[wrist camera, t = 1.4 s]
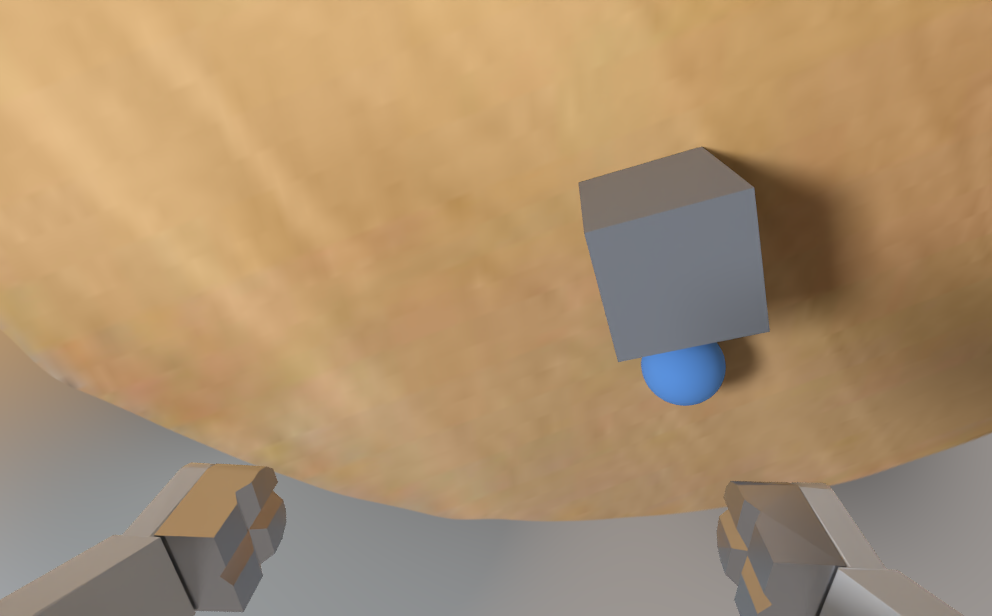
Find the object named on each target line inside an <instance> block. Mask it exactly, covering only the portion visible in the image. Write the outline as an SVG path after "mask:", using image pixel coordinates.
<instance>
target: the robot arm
mask: <svg viewBox="0 0 992 616" xmlns="http://www.w3.org/2000/svg"><path fill="white" fill-rule="evenodd" d="M277 483H278V481H277V479H276V476H275V473H274V470H273V469H272V468H269V467H265V466H248V465H231V464H204V463H190V464H188V465H185V466H183V467H182V468H181V469H180V470H179V471H178V472H177V473H176V474H175V475H174V477H173V478H172V479H171V480H170V481H169V482H168V483H167V485H166V486H165V487H164V488H163V489H162V490H161V491H160V493H159V494H158V495H157V496H156V497H155V498H154V499H153V500H152V502H151V503H150V504H149V505H148V506H147V507H146V509H145V510H144V511H143V512H142V513H141V514H140V515H139V516H138V518H137V519H136V520H135V521H134V522H133V523H132V524H131V526H130V527H129V528H128V529H127V530H126V531H125V532H124V534H123V535H113V536H111V537H109V538H107V539H106V540H104V541H102V542H100V543H99V544H97V545H95V546H94V547H92V548H90V549H88V550H86V551H85V552H83V553H82V554H79V555H78V556H76V557H74V558H72V559H71V560H69V561H67V562H65V563H64V564H62V565H60V566H58V567H57V568H55V569H53V570H52V571H50V572H48V573H46V574H45V575H43V576H41V577H39V578H37V579H36V580H34V581H32V582H30V583H29V584H27V585H25V586H24V587H22V588H20V589H18V590H17V591H15V592H13V593H11V594H10V595H8V596H6V597H4V598H3V599H1V600H0V616H194V615H195V611H224V612H226V611H227V612H244V610H245V608H246V606H247V604H248V603H249V601H250V599H251V597H252V595H253V593H254V591H255V590H256V588H257V586H258V584H259V582H260V580H261V578H262V576H263V574H262V569H261V563H263V562H264V561H265V560H267V559H268V558H269V557H271V556H272V555H273V554H275V552H276V550H277V548H278V546H279V544H280V542H281V540H282V537H283V533H284V529H285V525H286V508H285V505H284V501H283V499H281V498H280V497H279V496H278V495H277V494H276V493H275V492H273V489H274V488H275V486H276V484H277ZM724 500H725V502H726V505H727V507H728V510H727V511H725V512H724V513H723V514H722V515H720V516H719V521H718V527H717V545H718V546H717V547H718V552H719V556H720V560H721V563H722V566H723V569H724V572H725V574H726V575H727V576H728V577H729V578H730V579H731V580H732V581H733V582H734V583H735V584H737V586H738V588H737V592H736V596H735V603H736V606H737V608H738V611H739V614H740V616H964V615H962V614H961V613H959V612H958V611H956V610H955V609H953V608H952V607H951V606H949V605H947V604H946V603H945V602H943V601H942V600H940V599H939V598H937V597H936V596H934V595H933V594H932V593H930V592H929V591H927V590H926V589H924V588H923V587H921V586H920V585H919V584H917V583H916V582H914V581H913V580H911V579H910V578H908V577H907V576H905V575H904V574H903V573H901V572H900V571H898V570H889V569H886V567H885V566H884V564H883V563H882V561H881V560H880V559H879V557H878V556H877V554H876V553H875V551H874V550H873V548H872V547H871V545H870V544H869V542H868V541H867V540H866V538H865V537H864V535H863V534H862V532H861V531H860V529H859V528H858V527H857V525H856V524H855V522H854V521H853V519H852V518H851V516H850V515H849V513H848V512H847V510H846V509H845V508H844V506H843V505H842V503H841V502H840V500H839V499H838V497H837V496H836V494H835V493H834V492H833V490H832V489H831V488H830V487H829V486H828V485H826V484H825V483H801V482H792V483H789V482H752V481H730V482H729V484H728V485H727V486H726V490H725V494H724Z"/></svg>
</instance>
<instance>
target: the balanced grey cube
mask: <svg viewBox="0 0 992 616" xmlns="http://www.w3.org/2000/svg"><path fill="white" fill-rule="evenodd" d="M579 191H580V200H581V209H582V218H583V226H584V234H585V238H586V241H587V245H588V249H589V253H590V257H591V260H592V264H593V268H594V272H595V276H596V279H597V283H598V287H599V291H600V295H601V298H602V302H603V306H604V310H605V314H606V317H607V321H608V325H609V329H610V333H611V336H612V340H613V344H614V348H615V352H616V355H617V359H618V362H621V361H626V360H631V359H636V358H641V357H646V356H651V355H656V354H661V353H665V352H670V351H675V350H680V349H685V348H690V347H695V346H700V345H705V344H710V343H715V342H720V341H725V340H730V339H735V338H740V337H745V336H750V335H755V334H760V333H765V332H770V330H769V321H768V311H767V302H766V293H765V283H764V274H763V265H762V255H761V246H760V237H759V227H758V218H757V209H756V199H755V190H754V187H753V186H752V185H750V184H749V183H748V182H747V181H745V180H744V179H743V178H741V177H740V176H739V175H738V174H736V173H735V172H734V171H732V170H731V169H730V168H729V167H727V166H726V165H725V164H724V163H722V162H721V161H720V160H718V159H717V158H716V157H715V156H713V155H712V154H711V153H709V152H708V151H707V150H706V149H704V148H703V147H699V148H695V149H692V150H688V151H685V152H681V153H678V154H675V155H671V156H668V157H664V158H661V159H658V160H654V161H651V162H647V163H644V164H640V165H637V166H634V167H630V168H627V169H623V170H620V171H617V172H613V173H610V174H606V175H603V176H599V177H596V178H593V179H589V180H586V181H582V182H579Z"/></svg>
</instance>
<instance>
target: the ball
mask: <svg viewBox="0 0 992 616" xmlns="http://www.w3.org/2000/svg"><path fill="white" fill-rule="evenodd" d="M641 367H642V373H643V376H644V379H645V381H646V383H647V385H648V387H649V388H650V389H651V390H652V391H653V392H654V393H655V394H656V395H657V396H658V397H659V398H661V399H663V400H665V401H667V402H669V403H672V404H676V405H683V406H686V405H694V404H698V403H701V402H703V401H705V400H707V399H709V398H710V397H712V396H713V395H714V394H715V393H716V392H717V390H718V389H719V388H720V386H721V384H722V382H723V380H724V376H725V370H726V365H725V358H724V355H723V352H722V350H721V348H720V347H719V345H718V344H717V342H715V343H710V344H705V345H700V346H695V347H690V348H685V349H680V350H675V351H670V352H665V353H661V354H656V355H651V356H646V357H642V361H641Z"/></svg>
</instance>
